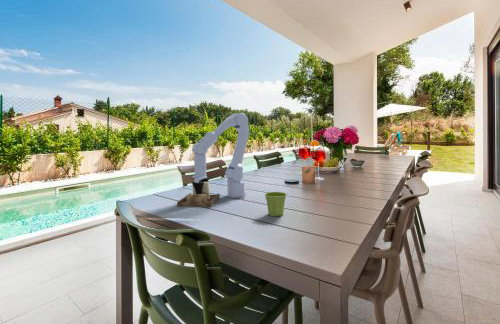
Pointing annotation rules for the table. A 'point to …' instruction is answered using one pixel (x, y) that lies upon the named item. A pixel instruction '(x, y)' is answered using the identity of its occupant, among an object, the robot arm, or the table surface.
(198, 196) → the oak offcuts
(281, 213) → the plant pot
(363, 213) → the table surface
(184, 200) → the walnut rack
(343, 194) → the table surface
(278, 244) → the table surface
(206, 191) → the birch block
